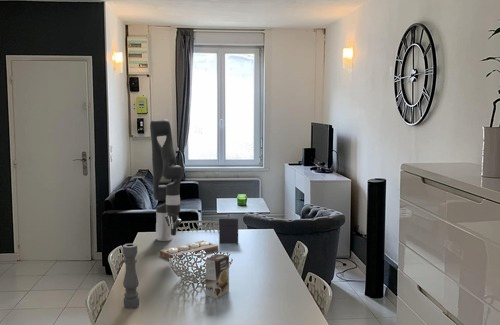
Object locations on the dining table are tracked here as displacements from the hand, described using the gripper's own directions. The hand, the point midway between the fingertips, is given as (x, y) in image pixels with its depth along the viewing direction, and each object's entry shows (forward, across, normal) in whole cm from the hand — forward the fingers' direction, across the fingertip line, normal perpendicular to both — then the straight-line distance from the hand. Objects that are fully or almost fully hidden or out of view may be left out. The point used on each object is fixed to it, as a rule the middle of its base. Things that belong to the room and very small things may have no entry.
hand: (173, 235), depth 260 cm
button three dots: (+10, 0, +14) cm, 17 cm away
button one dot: (+11, 0, +21) cm, 23 cm away
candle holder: (+12, +42, -49) cm, 66 cm away
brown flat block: (+12, 0, +10) cm, 16 cm away
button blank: (+10, 0, +7) cm, 12 cm away
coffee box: (+12, +56, -15) cm, 59 cm away
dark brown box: (+12, -1, +39) cm, 41 cm away
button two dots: (+10, 0, 0) cm, 10 cm away
